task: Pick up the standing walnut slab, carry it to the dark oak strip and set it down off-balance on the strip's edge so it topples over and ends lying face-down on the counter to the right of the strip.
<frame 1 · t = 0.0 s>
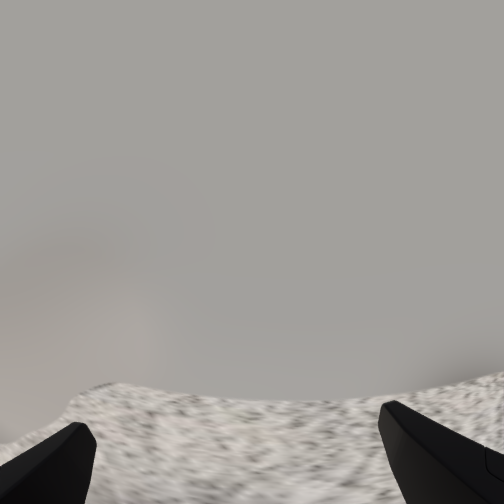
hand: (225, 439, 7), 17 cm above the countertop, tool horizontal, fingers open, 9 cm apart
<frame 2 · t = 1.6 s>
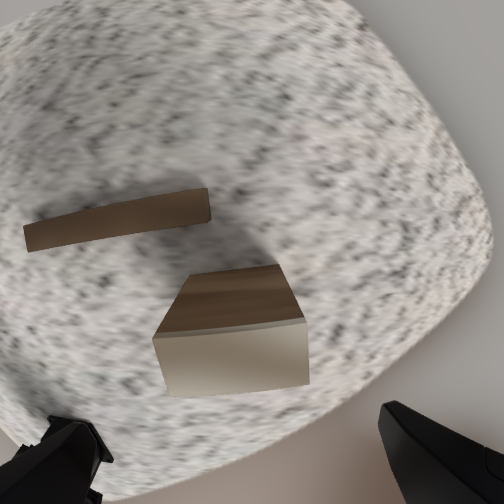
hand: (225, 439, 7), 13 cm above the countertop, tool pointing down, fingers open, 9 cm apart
strip: (111, 220, 18), on the countertop
slab: (236, 291, 20), on the countertop
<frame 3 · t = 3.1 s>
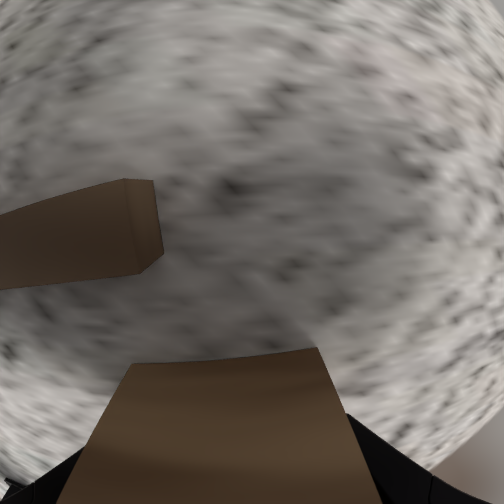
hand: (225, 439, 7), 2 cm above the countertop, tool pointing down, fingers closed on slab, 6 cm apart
slab: (228, 395, 9), on the countertop, touching gripper
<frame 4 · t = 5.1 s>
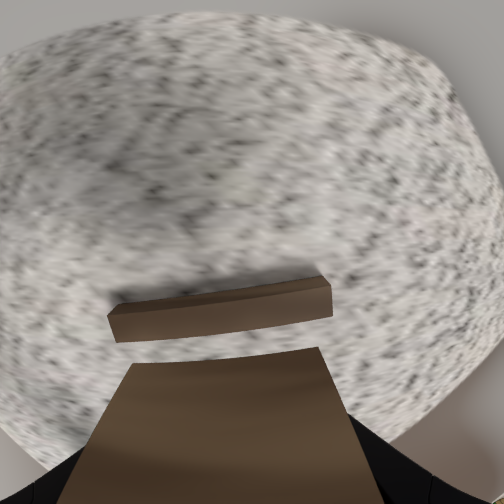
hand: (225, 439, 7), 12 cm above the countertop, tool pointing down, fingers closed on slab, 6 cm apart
strip: (217, 306, 19), on the countertop
slab: (228, 395, 9), point 10 cm above the countertop, touching gripper
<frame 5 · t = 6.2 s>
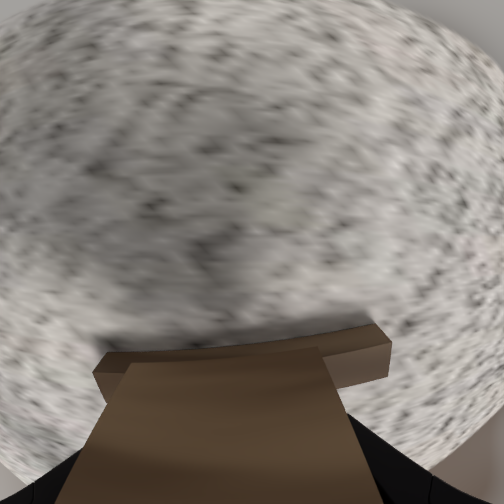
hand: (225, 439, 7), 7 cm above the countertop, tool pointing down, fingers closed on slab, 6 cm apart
strip: (239, 362, 14), on the countertop
slab: (228, 394, 9), point 5 cm above the countertop, touching gripper
when the fingers open (5 cm above the countertop, at t = 7.0 s): slab drops 2 cm and tips over, point 1 cm above the countertop.
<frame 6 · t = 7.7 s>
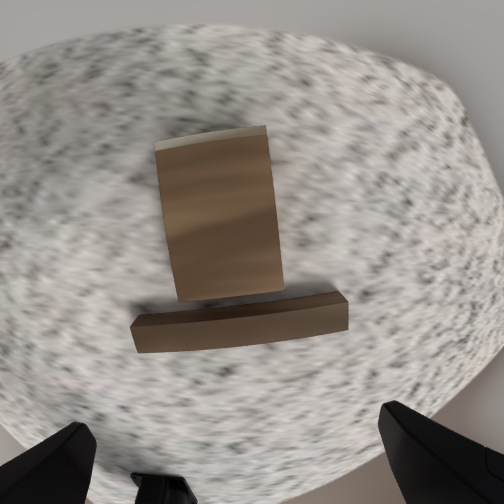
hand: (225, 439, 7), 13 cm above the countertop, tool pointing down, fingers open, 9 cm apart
strip: (238, 319, 19), on the countertop
slab: (231, 288, 18), point 1 cm above the countertop, tilted 90°
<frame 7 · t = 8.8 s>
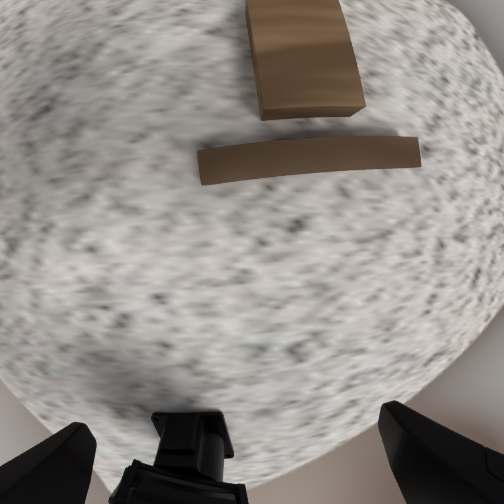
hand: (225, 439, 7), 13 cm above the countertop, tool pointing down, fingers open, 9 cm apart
strip: (313, 157, 18), on the countertop
slab: (311, 112, 16), point 1 cm above the countertop, tilted 90°
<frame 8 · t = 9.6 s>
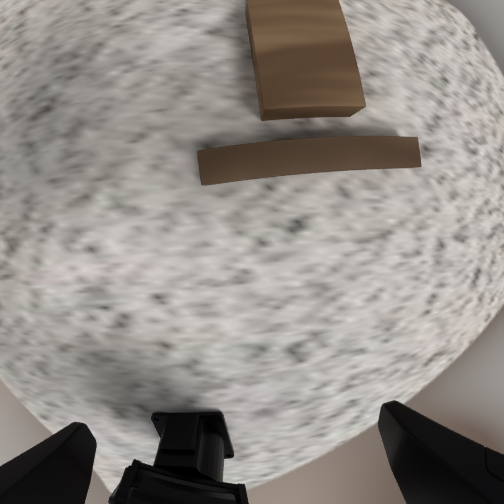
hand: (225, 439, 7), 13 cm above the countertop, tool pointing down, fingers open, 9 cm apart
strip: (313, 157, 18), on the countertop
slab: (311, 112, 16), point 1 cm above the countertop, tilted 90°
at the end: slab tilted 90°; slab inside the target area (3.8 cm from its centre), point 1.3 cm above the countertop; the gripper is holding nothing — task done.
